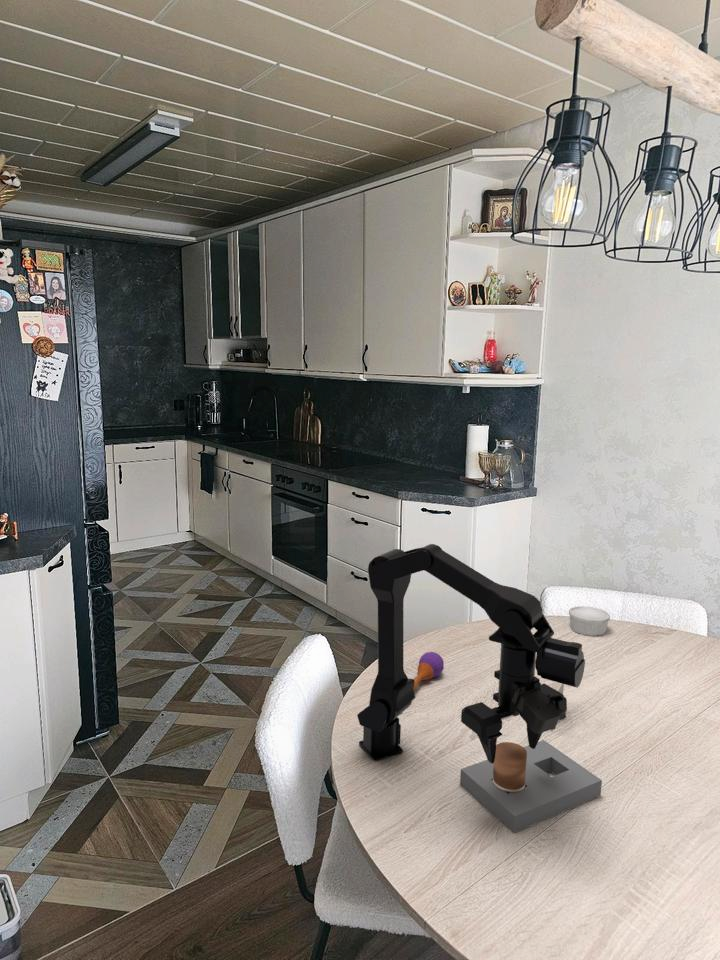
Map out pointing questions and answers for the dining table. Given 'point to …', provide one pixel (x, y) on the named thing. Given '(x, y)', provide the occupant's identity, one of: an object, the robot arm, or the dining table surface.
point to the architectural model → (558, 687)
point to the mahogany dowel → (509, 767)
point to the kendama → (429, 667)
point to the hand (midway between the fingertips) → (511, 754)
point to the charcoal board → (533, 787)
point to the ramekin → (588, 620)
